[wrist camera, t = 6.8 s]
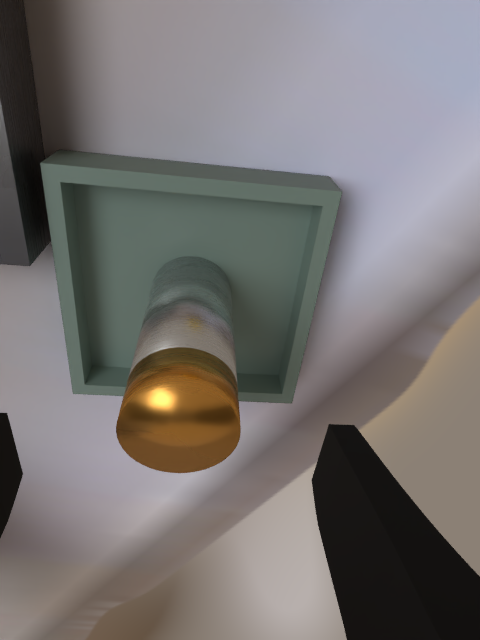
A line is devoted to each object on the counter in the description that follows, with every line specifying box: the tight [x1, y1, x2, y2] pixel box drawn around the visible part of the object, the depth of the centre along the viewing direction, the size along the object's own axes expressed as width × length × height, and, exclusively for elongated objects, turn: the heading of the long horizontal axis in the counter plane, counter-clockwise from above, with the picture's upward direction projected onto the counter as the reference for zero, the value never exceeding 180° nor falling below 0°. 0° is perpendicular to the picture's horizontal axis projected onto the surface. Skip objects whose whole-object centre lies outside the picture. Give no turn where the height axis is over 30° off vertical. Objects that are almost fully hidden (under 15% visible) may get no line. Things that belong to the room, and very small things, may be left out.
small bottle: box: [116, 256, 240, 473], centre depth 13 cm, size 3×3×7 cm
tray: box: [40, 150, 342, 403], centre depth 16 cm, size 9×9×2 cm
